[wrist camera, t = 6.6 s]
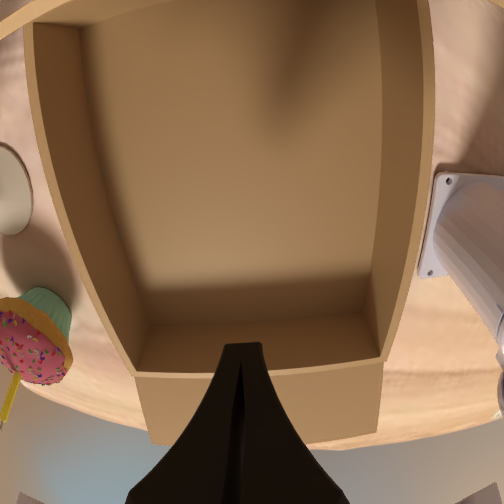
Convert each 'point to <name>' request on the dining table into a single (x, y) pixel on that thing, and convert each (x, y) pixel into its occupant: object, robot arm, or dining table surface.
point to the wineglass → (14, 194)
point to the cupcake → (34, 340)
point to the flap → (290, 395)
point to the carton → (238, 172)
